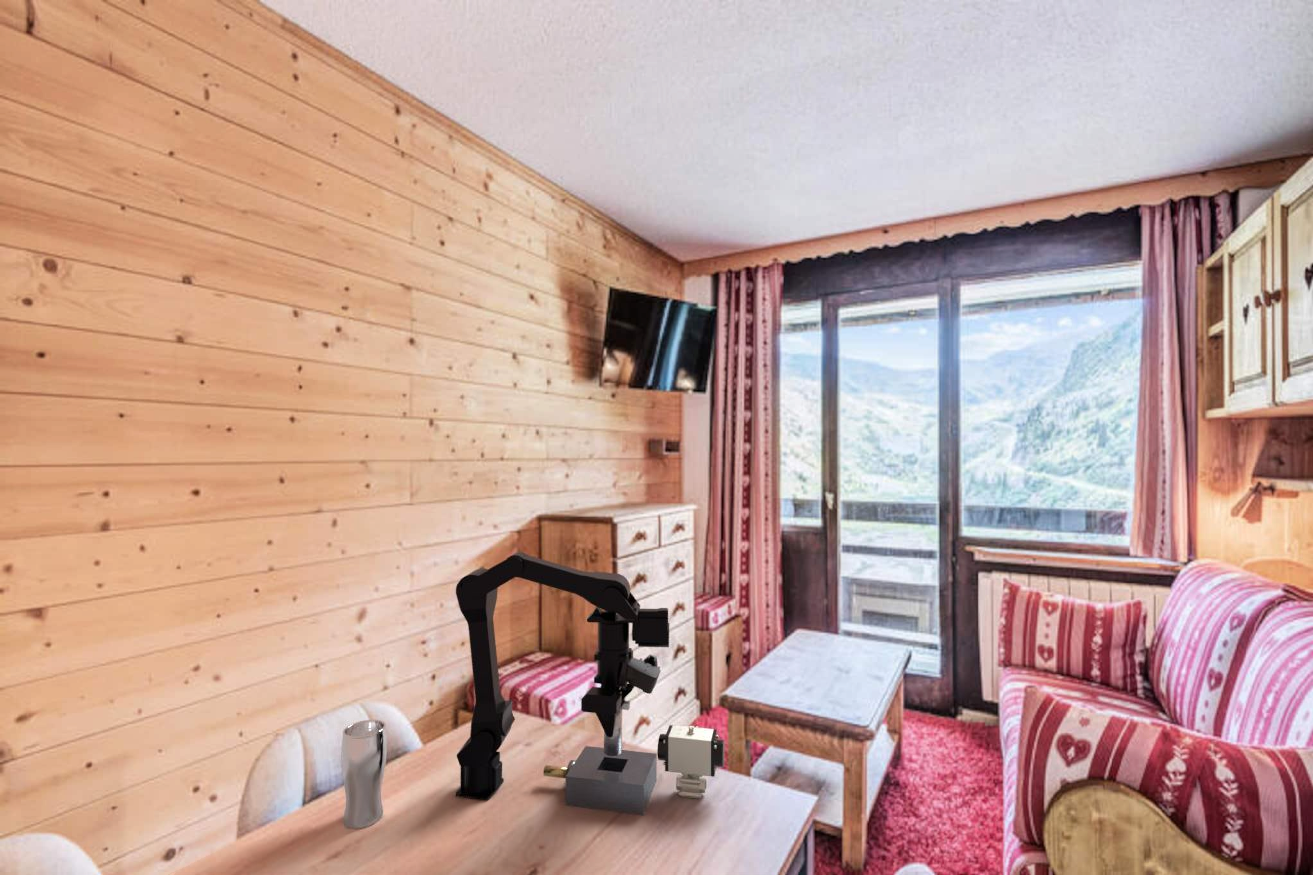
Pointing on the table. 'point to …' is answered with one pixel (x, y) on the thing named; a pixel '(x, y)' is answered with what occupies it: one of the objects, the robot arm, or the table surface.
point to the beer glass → (363, 772)
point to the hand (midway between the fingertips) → (612, 732)
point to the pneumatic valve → (691, 756)
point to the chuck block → (608, 780)
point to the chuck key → (615, 734)
